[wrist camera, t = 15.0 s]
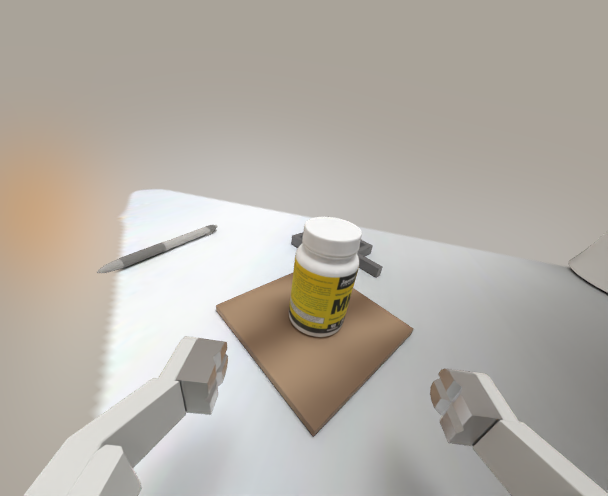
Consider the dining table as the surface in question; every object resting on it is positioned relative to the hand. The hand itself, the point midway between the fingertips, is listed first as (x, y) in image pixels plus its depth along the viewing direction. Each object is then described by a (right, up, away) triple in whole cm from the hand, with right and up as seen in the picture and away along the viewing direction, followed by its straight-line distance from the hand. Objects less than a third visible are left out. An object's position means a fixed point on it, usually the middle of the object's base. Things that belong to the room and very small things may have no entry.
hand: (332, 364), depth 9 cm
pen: (-17, +4, +19) cm, 26 cm away
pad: (0, -2, +12) cm, 12 cm away
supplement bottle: (0, -2, +12) cm, 12 cm away
